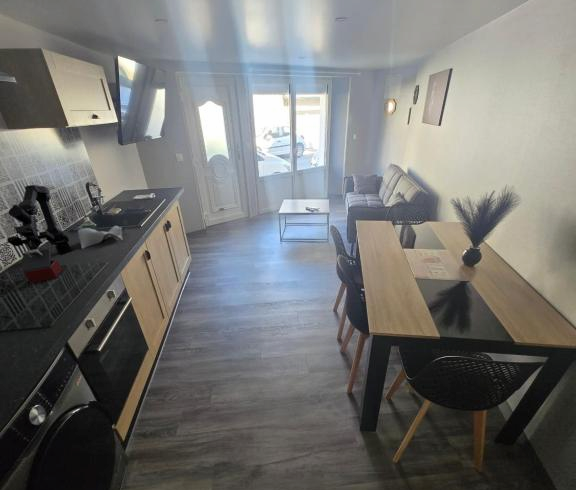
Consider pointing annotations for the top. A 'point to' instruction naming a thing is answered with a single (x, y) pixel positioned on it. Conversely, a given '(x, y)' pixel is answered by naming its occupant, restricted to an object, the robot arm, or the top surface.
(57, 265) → the red box
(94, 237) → the grey crumpled fabric piece
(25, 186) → the robot arm
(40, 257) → the lid
